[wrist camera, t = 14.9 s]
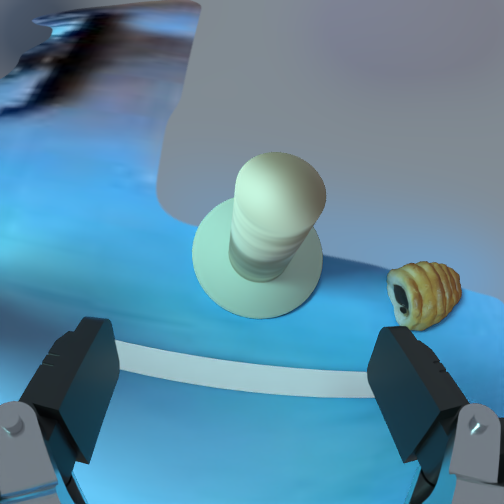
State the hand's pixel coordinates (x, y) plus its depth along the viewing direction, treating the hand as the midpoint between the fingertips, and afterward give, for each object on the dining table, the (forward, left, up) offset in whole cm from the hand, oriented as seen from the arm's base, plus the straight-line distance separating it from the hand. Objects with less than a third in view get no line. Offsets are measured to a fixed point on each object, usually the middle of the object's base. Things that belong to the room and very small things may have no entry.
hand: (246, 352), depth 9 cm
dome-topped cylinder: (+8, +6, -18) cm, 20 cm away
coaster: (+8, +6, -18) cm, 21 cm away
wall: (0, -2, -18) cm, 18 cm away
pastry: (+19, -7, -19) cm, 28 cm away
